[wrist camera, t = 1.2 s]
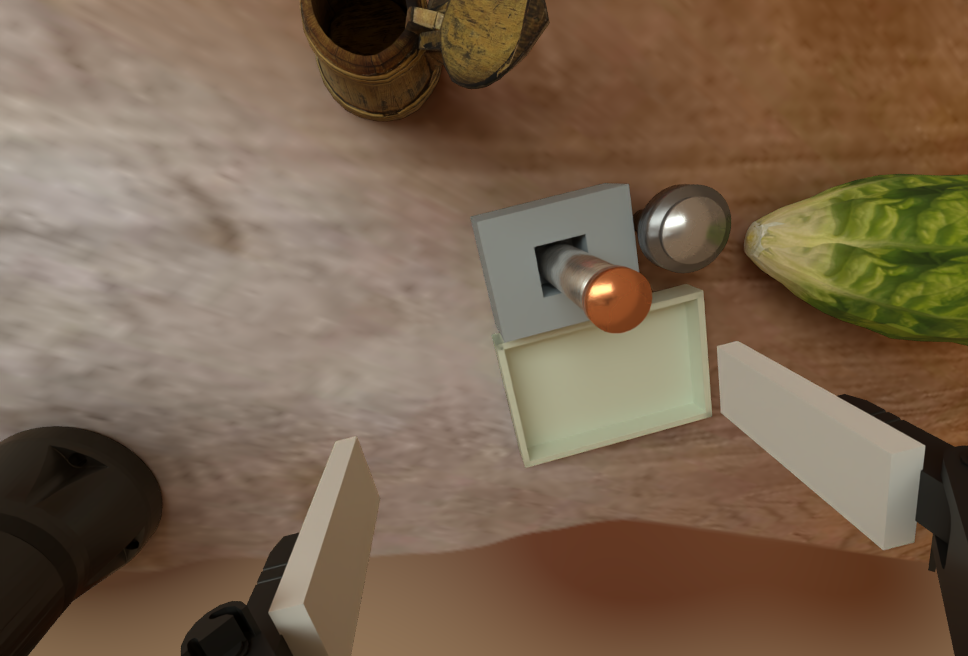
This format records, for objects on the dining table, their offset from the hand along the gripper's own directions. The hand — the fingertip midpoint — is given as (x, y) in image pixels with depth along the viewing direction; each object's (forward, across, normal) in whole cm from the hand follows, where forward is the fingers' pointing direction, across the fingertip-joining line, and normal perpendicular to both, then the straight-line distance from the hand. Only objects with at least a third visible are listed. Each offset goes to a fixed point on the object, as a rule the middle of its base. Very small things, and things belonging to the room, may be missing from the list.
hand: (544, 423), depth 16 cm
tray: (+26, +9, -12) cm, 30 cm away
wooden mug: (+26, -2, +17) cm, 31 cm away
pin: (+25, +6, 0) cm, 26 cm away
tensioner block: (+26, +6, 0) cm, 27 cm away
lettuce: (+27, +34, -6) cm, 44 cm away
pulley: (+26, +15, +1) cm, 30 cm away
